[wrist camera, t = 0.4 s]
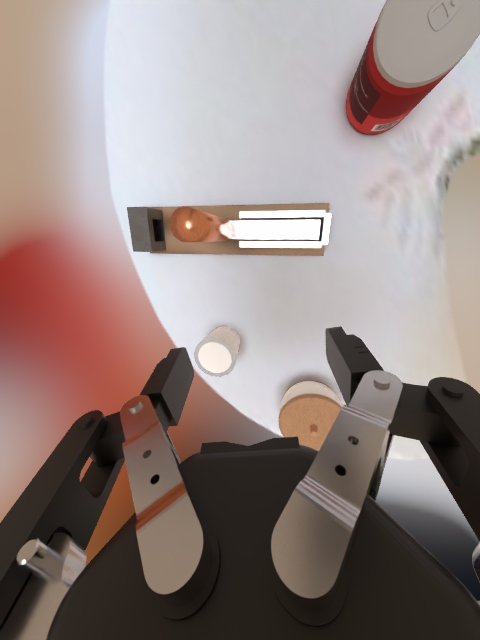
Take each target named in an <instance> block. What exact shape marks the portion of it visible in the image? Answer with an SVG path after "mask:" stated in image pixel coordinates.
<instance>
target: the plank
mask: <svg viewBox="0 0 480 640" xmlns="http://www.w3.org/2000/svg"><path fill="white" fill-rule="evenodd" d="M186 207H190V208H193V209H196V210H199V211H202V212H206V213H209V214H212V215H215V216H218V217H221V218H224V219H227V220H228V221H254V220H243V219H240V218H239V212H246V211H300V210H325V213H328V211H329V203H311V204H269V205H227V206H186ZM149 208H153V209H158V210H162V212H163V222H164V232H165V242H166V250H164V251H154V252H150V253H172V254H242V255H312V256H323V254H324V245H321V248H270V247H239V241H319V239H228V240H226V241H215V242H189V243H186V242H181V241H179V240H178V239H177V238H175V236H174V235H173V233H172V231H171V228H170V218H171V215H172V213H173V212H174V211H175V210H176V209H177V208H179V207H149ZM276 220H320V223H321V219H276ZM319 232H320V230H319Z"/></svg>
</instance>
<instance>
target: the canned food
mask: <svg viewBox="0 0 480 640" xmlns="http://www.w3.org/2000/svg"><path fill="white" fill-rule="evenodd" d="M479 34H480V0H387V1H386V3H385V5H384V7H383V9H382V11H381V13H380V15H379V18H378V20H377V22H376V24H375V27H374V29H373V32H372V34H371V37H370V39H369V41H368V44H367V46H366V49H365V51H364V54H363V56H362V58H361V61H360V63H359V66H358V68H357V71H356V73H355V75H354V78H353V80H352V83H351V85H350V88H349V91H348V95H347V100H346V109H347V115H348V118H349V121H350V123H351V125H352V126H353V127H354V128H355V129H356V130H357V131H359V132H361V133H364V134H377V133H381V132H384V131H386V130H389V129H391V128H392V127H394V126H395V125H397V124H398V123H399V122H400V121H401V120H402V119H403V118H404V117H405V116H406V115H407V114H408V113H409V112H410V111H411V110H412V109H413V108H414V107H415V106H416V105H417V104H418V103H419V102H420V101H421V100H422V99H423V98H424V97H425V96H426V95H427V94H428V93H429V92H430V91H431V90H432V89H433V88H434V87H435V86H436V85H437V84H438V83H439V82H440V81H441V80H442V79H443V78H444V77H445V76H446V75H447V74H448V73H449V72H450V71H451V70H452V69H453V67H454V66H455V65H456V64H457V63H458V62H459V61H460V60H461V59H462V58H463V56H464V55H465V54H466V53H467V51H468V50H469V49H470V48H471V46H472V45H473V43H474V42H475V40H476V39H477V37H478V36H479Z"/></svg>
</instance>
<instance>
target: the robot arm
mask: <svg viewBox="0 0 480 640" xmlns="http://www.w3.org/2000/svg"><path fill="white" fill-rule="evenodd" d="M326 355H327V360H328V363H329V366H330V368H331V370H332V372H333V375H334V377H335V379H336V382H337V384H338V386H339V389H340V391H341V393H342V395H343V398H344V400H345V402H346V405H347V406H346V405H344V406H343V407H342V408H341V410H340V412H339V414H338V416H337V418H336V420H335V421H334V423H333V425H332V427H331V429H330V431H329V433H328V435H327V437H326V439H325V440H324V442H323V444H322V446H321V448H320V450H319V451H317V450H315V449H313V448H310V447H307V446H304V445H299V439H298V437H283V438H272V439H269V440H266V441H263V442H260V443H258V444H254V445H251V446H244V445H239V444H234V443H229V442H212V443H202V447H201V452H198V453H196V454H194V455H192V456H190V457H188V458H187V459H186V460H184V461H183V462H182V463H181V462H180V460H179V457H178V455H177V453H176V450H175V448H174V446H173V444H172V441H171V439H170V437H169V435H168V433H167V430H168V427H169V426H177V425H178V422H179V419H180V416H181V413H182V410H183V407H184V404H185V401H186V398H187V395H188V392H189V389H190V386H191V383H192V380H193V377H194V370H193V366H192V364H191V361H190V358H189V356H188V353H187V350H186V348H184V347H182V348H175V349H171V350H170V352H169V354H168V356H167V357H166V358H164V359H163V360H161V361H160V362H159V363H158V364H157V366H156V367H155V369H154V372H153V373H152V374H151V376H150V378H149V380H148V381H147V383H146V385H145V387H144V388H143V390H142V392H141V394H140V395H139V396H136V397H133V398H131V399H130V400H128V401H127V402H126V403H125V404H124V405H123V406H122V408H121V410H120V412H117V413H115V414H111V415H109V416H106V417H105V416H104V415H103V413H102V412H101V411H99V410H95V411H91V412H88V413H86V414H85V415H83V416H81V417H80V418H79V419H78V420H76V422H75V423H74V424H73V425H72V426H71V428H70V429H69V430H68V432H67V433H66V434H65V436H64V438H63V439H62V440H61V441H60V443H59V444H58V445H57V447H56V448H55V450H54V451H53V452H52V454H51V455H50V456H49V458H48V459H47V460H46V462H45V463H44V465H43V466H42V467H41V469H40V470H39V471H38V473H37V474H36V475H35V477H34V478H33V479H32V481H31V482H30V484H29V485H28V486H27V488H26V489H25V490H24V492H23V493H22V494H21V496H20V497H19V499H18V500H17V501H16V503H15V504H14V505H13V507H12V508H11V509H10V511H9V512H8V513H7V515H6V516H5V517H4V519H3V520H2V522H1V523H0V640H480V601H476V599H475V598H474V597H473V595H472V594H471V593H470V592H469V591H468V589H467V588H466V587H465V586H464V585H463V584H462V583H461V582H460V580H459V579H458V578H457V577H456V576H455V575H454V574H453V573H452V572H451V571H450V570H448V569H447V568H446V567H445V566H444V565H443V564H442V563H441V562H440V561H439V560H438V559H437V558H435V557H434V556H433V555H432V554H431V553H430V552H429V551H428V550H427V549H426V548H425V547H424V546H423V545H422V544H421V543H419V542H418V541H417V540H416V539H415V538H414V537H413V536H412V535H411V534H410V533H409V532H408V531H407V530H406V529H405V528H403V527H402V526H401V525H400V524H399V523H398V522H397V521H396V520H395V519H394V518H393V517H392V516H391V515H390V514H388V513H387V512H386V511H385V510H384V509H383V508H382V507H381V506H380V505H379V504H378V503H377V502H376V497H377V494H378V490H379V486H380V482H381V478H382V474H383V470H384V467H385V463H386V460H387V457H388V453H389V450H390V447H391V443H392V440H393V437H394V435H397V436H402V437H406V438H411V439H416V440H420V442H421V444H422V445H423V447H424V449H425V450H426V452H427V454H428V455H429V457H430V459H431V460H432V462H433V464H434V465H435V467H436V469H437V471H438V472H439V474H440V476H441V477H442V479H443V481H444V482H445V484H446V486H447V487H448V489H449V491H450V492H451V494H452V496H453V498H454V499H455V501H456V502H457V504H458V506H459V508H460V509H461V511H462V513H463V514H464V516H465V518H466V519H467V521H468V523H469V524H470V526H471V528H472V529H473V531H474V533H475V534H476V536H477V538H478V539H479V541H480V394H479V393H478V392H477V391H476V390H475V389H474V388H473V387H471V386H470V385H468V384H466V383H464V382H462V381H459V380H457V379H453V378H447V377H439V378H434V379H432V380H431V381H430V382H429V384H428V386H420V385H412V384H406V383H402V382H401V380H400V379H399V378H398V377H397V376H395V375H393V374H391V373H389V372H386V371H384V370H383V369H382V367H381V366H380V364H379V363H378V362H377V360H376V359H375V358H374V356H373V355H372V353H371V352H370V351H369V349H368V348H367V347H366V345H365V344H364V343H363V341H362V340H361V339H360V338H358V337H356V336H355V335H346V333H345V332H344V330H343V329H342V327H334V328H327V329H326ZM89 456H90V458H91V459H92V460H93V461H92V462H91V464H90V466H89V468H88V470H87V471H86V473H85V475H84V477H83V479H82V480H81V482H80V480H79V477H80V473H81V470H82V468H83V466H84V465H85V463H86V461H87V460H88V458H89ZM124 460H125V462H126V467H127V472H128V477H129V481H130V486H131V492H132V497H133V502H134V507H135V513H134V514H133V515H132V516H131V518H130V519H129V520H128V521H127V522H126V523H125V524H124V525H123V526H122V528H121V529H120V530H119V531H118V532H117V533H116V534H115V535H114V536H113V537H112V538H111V540H110V541H109V542H108V543H107V544H106V545H105V546H104V547H103V548H102V549H101V550H100V552H99V553H98V554H97V555H96V556H95V557H94V558H93V559H92V560H91V561H90V563H89V564H88V565H87V566H86V567H85V564H86V552H85V550H86V547H87V545H88V543H89V541H90V538H91V536H92V534H93V531H94V529H95V527H96V525H97V522H98V520H99V518H100V516H101V513H102V511H103V509H104V506H105V504H106V502H107V499H108V497H109V495H110V492H111V490H112V488H113V486H114V484H115V481H116V479H117V476H118V474H119V472H120V470H121V468H122V465H123V463H124ZM472 560H473V566H474V570H475V572H476V574H477V577H478V579H479V582H480V542H479V544H478V545H477V547H476V548H475V550H474V552H473V556H472ZM84 567H85V568H84Z"/></svg>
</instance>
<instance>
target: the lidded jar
mask: <svg viewBox="0 0 480 640" xmlns="http://www.w3.org/2000/svg"><path fill="white" fill-rule="evenodd" d="M342 407H343V406H342V404H341V402H340V400H339V398H338V397H337V396H336V394H335V393H334V392H333V391H332V390H331V389H330V388H328V387H327V386H325V385H323V384H321V383H318V382H314V381H303V382H299V383H297V384H295V385H293V386H292V387H291V388H289V390H288V391H287V392H286V393H285V395H284V397H283V400H282V402H281V407H280V414H279V428H280V431H281V433H282V434H283V436H284V437H298V439H299V445H304V446H307V447H310V448H313V449H315V450H317V451H319V450H320V448H321V446H322V444H323V442H324V440H325V439H326V437H327V435H328V433H329V431H330V429H331V427H332V425H333V423H334V421H335V420H336V418H337V416H338V414H339V412H340V410H341V408H342Z"/></svg>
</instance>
